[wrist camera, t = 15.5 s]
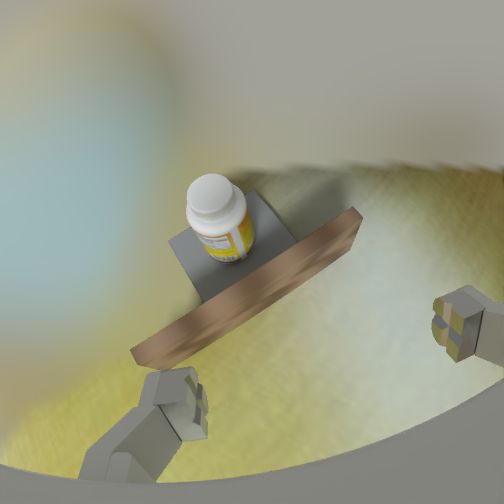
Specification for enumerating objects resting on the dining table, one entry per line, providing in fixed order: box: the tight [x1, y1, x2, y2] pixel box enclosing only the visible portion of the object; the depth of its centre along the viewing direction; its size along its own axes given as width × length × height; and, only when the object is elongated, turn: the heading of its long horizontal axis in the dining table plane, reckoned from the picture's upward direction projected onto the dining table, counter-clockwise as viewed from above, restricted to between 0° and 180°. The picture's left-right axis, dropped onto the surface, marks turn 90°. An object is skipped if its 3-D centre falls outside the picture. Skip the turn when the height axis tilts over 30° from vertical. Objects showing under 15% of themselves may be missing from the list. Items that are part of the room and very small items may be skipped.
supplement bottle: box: [186, 174, 255, 264], centre depth 30 cm, size 6×6×10 cm
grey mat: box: [168, 190, 298, 303], centre depth 36 cm, size 12×9×1 cm
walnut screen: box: [130, 207, 363, 371], centre depth 30 cm, size 24×2×7 cm, turn 123°
